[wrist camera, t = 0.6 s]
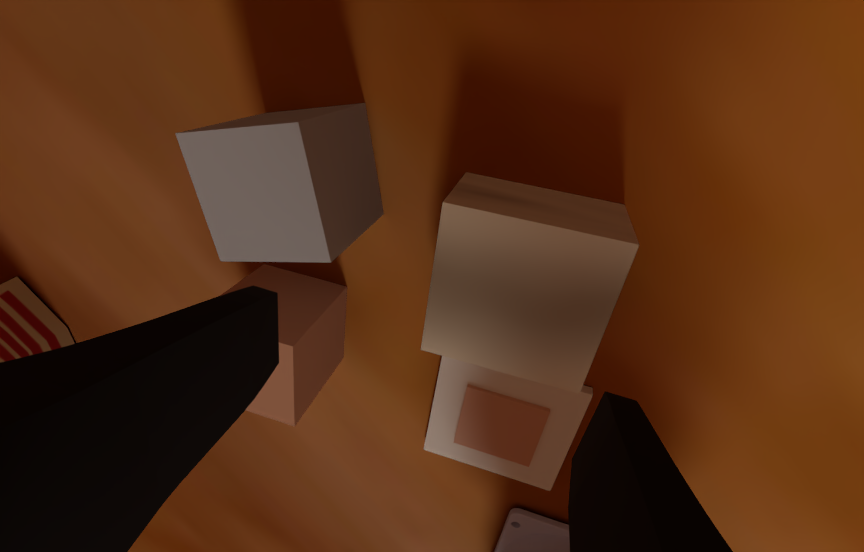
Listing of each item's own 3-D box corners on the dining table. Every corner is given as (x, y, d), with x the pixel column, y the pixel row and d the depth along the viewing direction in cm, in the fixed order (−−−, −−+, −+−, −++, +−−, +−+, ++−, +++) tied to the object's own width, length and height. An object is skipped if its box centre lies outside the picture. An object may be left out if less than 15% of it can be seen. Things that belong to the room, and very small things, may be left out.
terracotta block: (344, 357, 24) (294, 426, 19) (268, 334, 24) (205, 396, 20) (347, 286, 21) (292, 346, 17) (264, 263, 22) (192, 315, 18)
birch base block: (577, 331, 19) (579, 393, 16) (445, 298, 20) (420, 349, 17) (623, 202, 16) (639, 244, 13) (467, 170, 17) (442, 201, 14)
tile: (550, 483, 24) (550, 494, 23) (426, 442, 25) (422, 452, 24) (592, 387, 20) (593, 398, 19) (445, 345, 21) (442, 354, 21)
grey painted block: (384, 213, 19) (331, 262, 15) (293, 215, 20) (220, 261, 16) (365, 102, 17) (297, 122, 13) (266, 112, 18) (175, 133, 14)
